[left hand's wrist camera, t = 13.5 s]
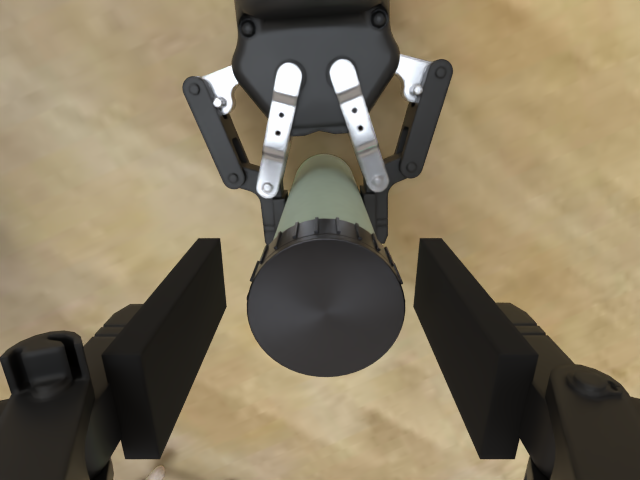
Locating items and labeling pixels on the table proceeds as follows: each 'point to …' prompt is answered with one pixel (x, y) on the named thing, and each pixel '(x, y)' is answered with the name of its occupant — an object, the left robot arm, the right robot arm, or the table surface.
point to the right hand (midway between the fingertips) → (326, 250)
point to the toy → (157, 473)
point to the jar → (324, 194)
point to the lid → (325, 298)
